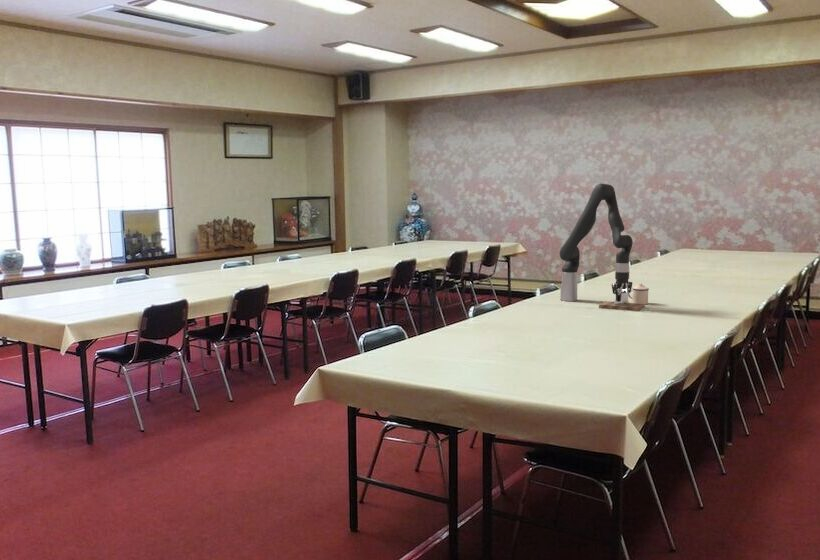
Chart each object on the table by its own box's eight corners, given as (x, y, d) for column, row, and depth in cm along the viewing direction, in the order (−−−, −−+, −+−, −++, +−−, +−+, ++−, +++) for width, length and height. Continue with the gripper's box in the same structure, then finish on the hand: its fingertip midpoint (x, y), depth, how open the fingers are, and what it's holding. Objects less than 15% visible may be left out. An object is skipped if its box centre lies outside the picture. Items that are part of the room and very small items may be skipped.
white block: (613, 302, 416) (613, 291, 416) (618, 301, 419) (618, 290, 418) (625, 303, 410) (625, 292, 409) (630, 303, 412) (630, 292, 412)
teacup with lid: (650, 303, 429) (651, 283, 427) (644, 305, 422) (645, 285, 420) (630, 301, 436) (631, 281, 434) (624, 303, 429) (625, 283, 427)
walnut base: (598, 308, 415) (598, 303, 415) (605, 304, 426) (605, 299, 426) (638, 311, 404) (638, 306, 403) (644, 307, 415) (644, 302, 414)
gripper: (626, 269, 419) (626, 298, 421) (607, 271, 412) (607, 301, 414) (636, 270, 412) (636, 300, 415) (617, 272, 405) (617, 303, 408)
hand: (621, 300), depth 414 cm, fingers closed on white block, 5 cm apart
